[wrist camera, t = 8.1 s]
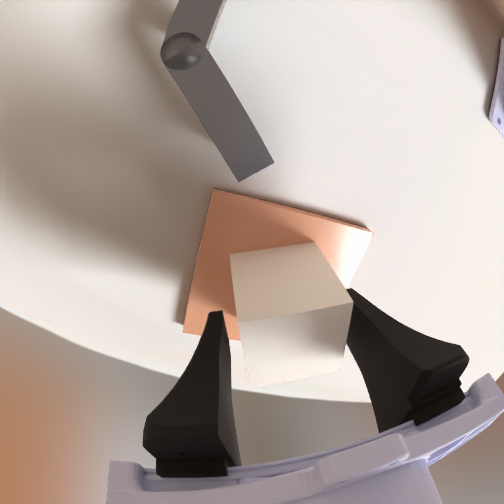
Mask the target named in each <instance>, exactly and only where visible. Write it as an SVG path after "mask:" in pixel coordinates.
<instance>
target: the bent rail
mask: <svg viewBox="0 0 504 504" xmlns="http://www.w3.org/2000/svg"><path fill="white" fill-rule="evenodd" d="M225 3H226V0H179V2H178V4H177V7H176V9H175V12H174V14H173V17H172V19H171V22H170V25H169V28H168V30H167V33H166V36H165V39H164V42H163V45H162V48H161V59H162V61H163V63H164V64H165V66H166V67H167V69H168V70H169V72H170V74H171V75H172V77H173V78H174V80H175V81H176V83H177V84H178V86H179V88H180V89H181V91H182V92H183V94H184V95H185V97H186V98H187V100H188V102H189V103H190V105H191V106H192V108H193V109H194V111H195V113H196V114H197V116H198V117H199V119H200V121H201V122H202V124H203V125H204V127H205V129H206V130H207V132H208V133H209V135H210V137H211V138H212V140H213V141H214V143H215V145H216V146H217V148H218V150H219V151H220V153H221V154H222V156H223V158H224V159H225V161H226V163H227V164H228V166H229V168H230V169H231V171H232V172H233V174H234V176H235V177H236V179H237V181H238V182H240V181H242V180H244V179H245V178H247V177H249V176H251V175H253V174H254V173H256V172H258V171H260V170H262V169H263V168H265V167H267V166H269V165H271V164H273V163H274V161H273V159H272V157H271V156H270V154H269V152H268V150H267V148H266V146H265V145H264V143H263V141H262V139H261V137H260V136H259V134H258V132H257V130H256V129H255V127H254V125H253V123H252V122H251V120H250V118H249V116H248V115H247V113H246V111H245V110H244V108H243V106H242V104H241V103H240V101H239V99H238V98H237V96H236V94H235V93H234V91H233V89H232V88H231V86H230V84H229V83H228V81H227V80H226V78H225V76H224V75H223V73H222V72H221V70H220V68H219V67H218V65H217V64H216V62H215V60H214V59H213V57H212V56H211V54H210V53H209V51H208V49H209V46H210V43H211V40H212V37H213V35H214V32H215V29H216V26H217V24H218V21H219V18H220V16H221V13H222V10H223V8H224V5H225Z"/></svg>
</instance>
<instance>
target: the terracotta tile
mask: <svg viewBox="0 0 504 504" xmlns="http://www.w3.org/2000/svg"><path fill="white" fill-rule="evenodd" d="M373 234H374V233H373V232H371V231H370V230H369V229H367V228H364V227H361V226H357V225H354V224H350V223H347V222H344V221H340V220H337V219H333V218H329V217H326V216H322V215H318V214H315V213H311V212H307V211H304V210H300V209H296V208H292V207H288V206H284V205H280V204H276V203H272V202H268V201H264V200H260V199H256V198H252V197H248V196H243V195H239V194H235V193H230V192H226V191H221V190H217V189H213V193H212V197H211V201H210V205H209V209H208V213H207V217H206V221H205V225H204V229H203V234H202V238H201V242H200V247H199V251H198V256H197V260H196V265H195V269H194V274H193V279H192V284H191V288H190V293H189V298H188V303H187V308H186V313H185V319H184V324H183V333H189V334H195V335H202V333H203V331H204V328H205V324H206V321H207V317H208V313H209V312H212V311H219V310H223V315H224V320H225V324H226V329H227V334H228V338H229V339H233V340H241V339H240V333H239V327H238V321H237V314H236V306H235V298H234V290H233V282H232V273H231V265H230V256H229V254H235V253H242V252H248V251H255V250H262V249H269V248H276V247H283V246H290V245H297V244H304V243H311V242H315V243H316V244H317V246H318V247H319V249H320V250H321V252H322V253H323V255H324V256H325V258H326V259H327V261H328V262H329V264H330V266H331V267H332V269H333V270H334V272H335V273H336V275H337V276H338V278H339V280H340V281H341V283H342V284H343V286H344V287H345V289H346V288H347V286H348V284H349V282H350V280H351V279H352V277H353V275H354V273H355V271H356V269H357V267H358V265H359V263H360V261H361V259H362V257H363V255H364V253H365V250H366V248H367V246H368V244H369V242H370V240H371V238H372V236H373Z"/></svg>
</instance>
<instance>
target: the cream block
mask: <svg viewBox="0 0 504 504" xmlns="http://www.w3.org/2000/svg"><path fill="white" fill-rule="evenodd" d="M229 256H230V265H231V273H232V282H233V290H234V298H235V306H236V314H237V321H238V327H239V333H240V339H241V344H242V350H243V355H244V361H245V366H246V371H247V377H248V382H249V387H250V388H253V387H260V386H266V385H272V384H277V383H283V382H288V381H293V380H298V379H303V378H308V377H312V376H317V375H321V374H325V373H329V372H333V371H337V370H340V368H341V364H342V359H343V355H344V350H345V345H346V340H347V335H348V330H349V325H350V319H351V314H352V308H353V300H352V299H351V297H350V295H349V294H348V292H347V291H346V289H345V287H344V286H343V284H342V283H341V281H340V280H339V278H338V276H337V275H336V273H335V272H334V270H333V269H332V267H331V266H330V264H329V262H328V261H327V259H326V258H325V256H324V255H323V253H322V252H321V250H320V249H319V247H318V246H317V244H316V243H315V242H311V243H304V244H297V245H290V246H283V247H276V248H269V249H262V250H255V251H248V252H242V253H235V254H229Z"/></svg>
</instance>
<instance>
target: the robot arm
mask: <svg viewBox="0 0 504 504" xmlns="http://www.w3.org/2000/svg"><path fill="white" fill-rule="evenodd" d="M489 119H490V121H491V123H492V124H493V125H494V126H495V127H496V128H497V129H498V130H499V132H500V133H501V134H502V135H503V136H504V38H501V46H500V56H499V64H498V71H497V77H496V83H495V89H494V94H493V99H492V104H491V108H490V112H489ZM346 291H347V292H348V294H349V295H350V297H351V299H352V300H353V308H352V314H351V319H350V325H349V330H348V335H347V340H346V343H347V345H348V347H349V349H350V351H351V353H352V355H353V357H354V359H355V361H356V362H357V364H358V366H359V368H360V371H361V373H362V375H363V378H364V381H365V384H366V386H367V389H368V393H369V396H370V399H371V402H372V406H373V409H374V413H375V416H376V421H377V425H378V430H379V434H376V435H373V436H371V437H368V438H365V439H362V440H359V441H356V442H353V443H350V444H347V445H343V446H340V447H336V448H333V449H329V450H325V451H321V452H317V453H313V454H309V455H305V456H300V457H296V458H291V459H286V460H280V461H275V462H268V463H262V464H254V465H247V466H242V465H241V460H240V453H239V448H238V441H237V435H236V428H235V421H234V414H233V406H232V395H231V354H230V346H229V338H228V334H227V329H226V324H225V320H224V315H223V310H219V311H212V312H209V313H208V317H207V321H206V324H205V328H204V331H203V333H202V336H201V338H200V341H199V344H198V346H197V348H196V350H195V352H194V354H193V357H192V359H191V361H190V362H189V364H188V366H187V368H186V369H185V371H184V373H183V374H182V376H181V377H180V379H179V380H178V382H177V383H176V385H175V386H174V388H173V389H172V390H171V391H170V392H169V394H168V395H167V396H166V397H165V398H164V400H163V401H162V402H161V403H160V404H159V405H158V406H157V407H156V408H155V409H154V410H153V411H152V412H151V413H150V414H149V415H148V416H147V419H146V422H145V427H144V431H143V447H144V448H145V449H146V450H147V451H148V452H149V453H151V455H153V456H154V457H155V458H156V469H149V468H143V467H142V466H141V465H140V464H137V463H134V462H126V461H116V460H111V461H110V464H109V474H108V486H107V501H106V504H443V503H442V501H441V498H440V496H439V493H438V491H437V488H436V486H435V483H434V481H433V478H432V476H431V474H430V471H429V469H428V467H427V466H429V465H431V464H432V463H434V462H436V461H437V460H439V459H441V458H442V457H444V456H445V455H447V454H449V453H450V452H452V451H454V450H455V449H457V448H458V447H459V446H461V445H463V444H464V443H465V442H467V441H468V440H470V439H471V438H473V437H474V436H475V435H477V434H478V433H480V432H481V431H482V430H484V429H485V428H486V427H488V426H489V425H490V424H491V423H492V422H493V421H494V420H495V419H496V418H497V417H498V416H499V415H500V414H501V413H502V412H503V411H504V395H503V393H502V392H501V390H500V389H499V387H498V385H497V384H496V382H495V381H494V379H493V378H492V377H491V375H490V374H489V373H487V374H486V375H484V376H483V377H481V378H480V379H478V380H477V381H475V382H474V383H473V384H472V385H471V386H470V388H469V389H468V391H467V392H465V393H463V391H462V390H461V388H460V386H461V381H460V380H459V378H460V376H461V375H462V373H463V372H464V370H465V369H466V367H467V365H468V362H469V357H468V355H467V354H466V352H465V351H464V350H463V348H462V347H461V346H460V345H456V344H452V343H448V342H444V341H441V340H438V339H435V338H432V337H429V336H427V335H424V334H422V333H420V332H417V331H415V330H413V329H411V328H409V327H407V326H405V325H404V324H402V323H400V322H398V321H397V320H395V319H393V318H392V317H390V316H389V315H387V314H386V313H384V312H383V311H381V310H380V309H379V308H377V307H376V306H375V305H373V304H372V303H371V302H369V301H368V300H367V299H365V298H364V297H363V296H361V295H360V294H359V293H357V292H356V291H355V290H353V289H352V288H350V289H346Z"/></svg>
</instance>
